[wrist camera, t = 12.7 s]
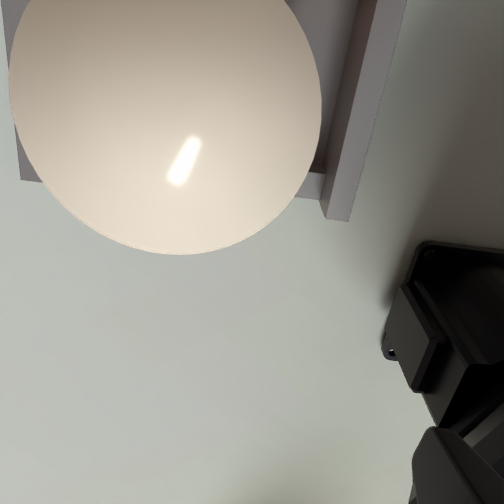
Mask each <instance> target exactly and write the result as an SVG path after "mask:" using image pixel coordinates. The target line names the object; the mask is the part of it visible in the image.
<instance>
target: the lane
mask: <svg viewBox="0 0 504 504" xmlns="http://www.w3.org/2000/svg"><path fill="white" fill-rule="evenodd" d="M29 1H30V0H1V6H2V15H3V24H4V33H5V42H6V51H7V60H8V69H9V65H10V54H11V50H12V45H13V41H14V36H15V32H16V30H17V27H18V24H19V22H20V19H21V17H22V14H23V12H24V10H25V8H26V7H27V5H28V3H29ZM284 1H285V2H286V4H287V5H288V6H289V8H290V9H291V11H292V12H293V13H294V15H295V17H296V19H297V20H298V22H299V24H300V26H301V28H302V30H303V31H304V33H305V35H306V38H307V40H308V43H309V45H310V48H311V51H312V53H313V56H314V60H315V64H316V68H317V72H318V76H319V82H320V90H321V99H322V103H321V126H320V133H319V140H318V144H317V148H316V151H315V155H314V159H313V161H312V164H311V166H310V168H309V171H308V173H307V176H306V178H305V179H304V181H303V183H302V185H301V186H300V188H299V190H298V192H297V193H296V194H295V196H294V197H301V198H308V199H316V200H319V202H320V205H321V208H322V210H323V213H324V216H325V219H330V220H337V221H345V222H348V221H349V218H350V214H351V210H352V206H353V203H354V199H355V195H356V191H357V187H358V184H359V180H360V176H361V172H362V169H363V165H364V161H365V157H366V154H367V150H368V146H369V142H370V138H371V135H372V131H373V127H374V123H375V120H376V116H377V112H378V108H379V105H380V101H381V97H382V93H383V89H384V86H385V82H386V78H387V74H388V71H389V67H390V63H391V59H392V56H393V52H394V48H395V44H396V40H397V37H398V33H399V29H400V25H401V22H402V18H403V14H404V10H405V6H406V3H407V0H284ZM14 124H15V123H14ZM15 133H16V142H17V151H18V160H19V169H20V178H21V180H27V181H34V182H42V180H41V179H40V178H39V176H38V175H37V173H36V171H35V169H34V168H33V166H32V164H31V163H30V161H29V159H28V157H27V155H26V153H25V150H24V148H23V146H22V144H21V141H20V139H19V136H18V132H17V129H16V126H15ZM42 183H43V182H42Z"/></svg>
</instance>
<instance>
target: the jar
mask: <svg viewBox="0 0 504 504" xmlns="http://www.w3.org/2000/svg"><path fill="white" fill-rule="evenodd" d="M9 95H10V103H11V108H12V114H13V119H14V123H15V126H16V129H17V132H18V136H19V139H20V141H21V144H22V146H23V148H24V150H25V153H26V155H27V157H28V159H29V161H30V163H31V164H32V166H33V168H34V169H35V171H36V173H37V175H38V176H39V178H40V179H41V180H42V182H43V183H44V184H45V186H46V187H47V188H48V190H49V191H50V192H51V193H52V194H53V196H54V197H55V198H56V199H57V200H58V201H59V202H60V203H61V204H62V205H63V206H64V207H65V208H66V209H67V210H68V211H69V212H71V213H72V214H73V215H74V216H75V217H76V218H78V219H79V220H80V221H82V222H83V223H85V224H86V225H87V226H89V227H90V228H92V229H93V230H95V231H97V232H98V233H100V234H102V235H104V236H106V237H108V238H109V239H112V240H114V241H116V242H119V243H121V244H124V245H126V246H129V247H133V248H136V249H140V250H143V251H148V252H154V253H159V254H172V255H186V254H199V253H204V252H210V251H215V250H218V249H221V248H225V247H228V246H231V245H233V244H235V243H237V242H240V241H242V240H244V239H246V238H248V237H250V236H251V235H253V234H255V233H256V232H258V231H260V230H261V229H262V228H263V227H265V226H266V225H267V224H269V223H270V222H271V221H272V220H274V219H275V218H276V217H277V216H278V215H279V214H280V213H281V212H282V211H283V210H284V208H285V207H286V206H287V205H288V204H289V202H290V201H291V200H292V198H293V197H294V196H295V194H296V193H297V192H298V190H299V188H300V186H301V185H302V183H303V181H304V179H305V178H306V176H307V173H308V171H309V168H310V166H311V164H312V161H313V159H314V155H315V151H316V148H317V144H318V140H319V133H320V126H321V103H322V99H321V90H320V82H319V76H318V72H317V68H316V64H315V60H314V56H313V53H312V51H311V48H310V45H309V43H308V40H307V38H306V35H305V33H304V31H303V30H302V28H301V26H300V24H299V22H298V20H297V19H296V17H295V15H294V13H293V12H292V11H291V9H290V8H289V6H288V5H287V4H286V2H285V1H284V0H30V1H29V3H28V5H27V7H26V8H25V10H24V12H23V14H22V17H21V19H20V22H19V24H18V27H17V30H16V32H15V36H14V41H13V45H12V50H11V54H10V65H9Z"/></svg>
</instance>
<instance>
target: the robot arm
mask: <svg viewBox="0 0 504 504" xmlns="http://www.w3.org/2000/svg"><path fill="white" fill-rule="evenodd" d="M428 250H433V251H432V253H431V254H430V255H428V256H424V254H425V253H426V252H427V251H428ZM385 331H386V335H385V338H384V341H383V343H382V347H381V350H382V352H383V355H384V357H385V358H386V359H388V360H392V361H398V362H399V364H400V366H401V369H402V371H403V373H404V376H405V378H406V381H407V383H408V385H409V387H410V388H411V390H412V391H413V392H414V393H421V394H422V396H423V398H424V400H425V403H426V405H427V407H428V409H429V412H430V414H431V416H432V418H433V420H434V423H435V425H436V427H435V426H432V427H429V428H428V429H427V430H426V431H425V433H424V435H423V437H422V439H421V441H420V443H419V445H418V446H417V448H416V450H415V452H414V454H413V458H412V474H413V485H412V490H411V494H410V498H409V503H408V504H504V250H500V249H492V248H484V247H477V246H469V245H461V244H453V243H445V242H437V241H425V242H422V243H421V244H419V245H418V247H417V248H416V250H415V253H414V256H413V259H412V262H411V265H410V267H409V270H408V273H407V276H406V279H405V281H404V282H403V283H402V284H401V285H400V286H399V287H398V290H397V293H396V296H395V298H394V301H393V304H392V307H391V310H390V313H389V316H388V318H387V321H386V324H385ZM391 349H393V351H390V350H391Z"/></svg>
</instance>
